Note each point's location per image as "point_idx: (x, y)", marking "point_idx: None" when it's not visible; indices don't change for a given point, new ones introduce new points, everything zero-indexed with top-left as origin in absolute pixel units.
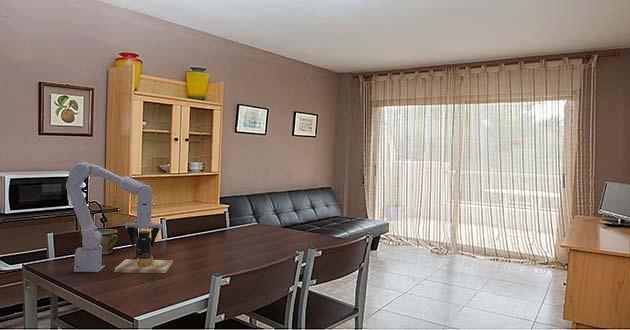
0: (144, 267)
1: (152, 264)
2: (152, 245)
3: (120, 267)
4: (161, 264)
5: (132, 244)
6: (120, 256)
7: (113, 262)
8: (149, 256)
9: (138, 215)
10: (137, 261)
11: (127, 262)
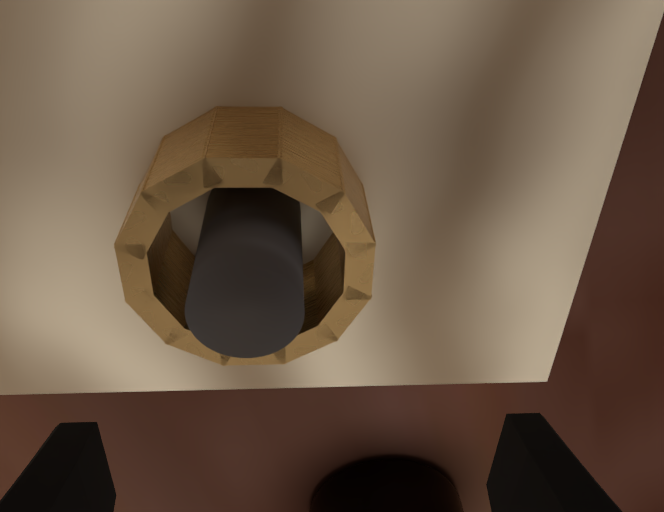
0: (200, 31)
1: None
2: (49, 437)
3: (592, 9)
4: (5, 213)
5: (545, 432)
6: None
7: (661, 351)
8: None
9: None
10: (361, 197)
11: (511, 269)
